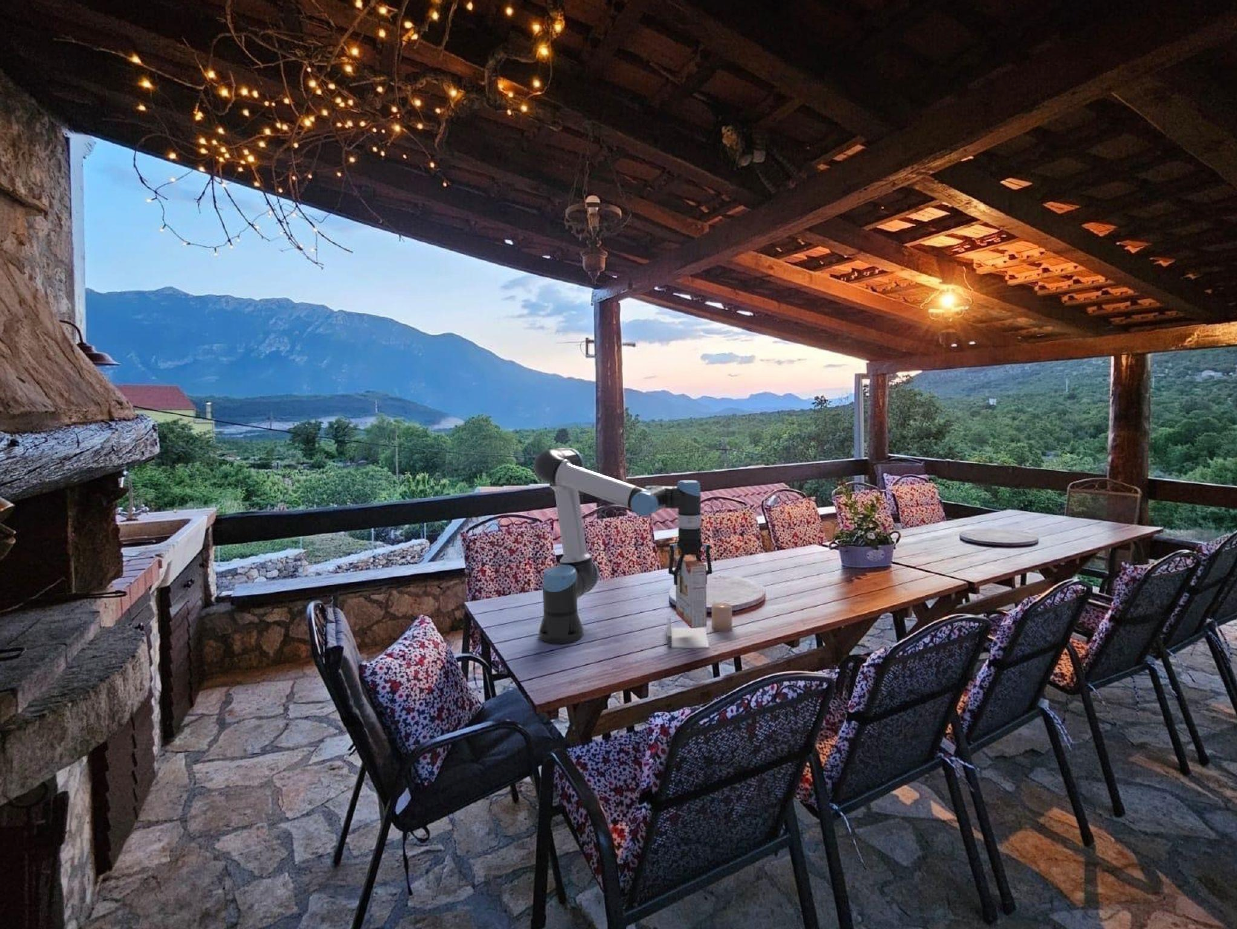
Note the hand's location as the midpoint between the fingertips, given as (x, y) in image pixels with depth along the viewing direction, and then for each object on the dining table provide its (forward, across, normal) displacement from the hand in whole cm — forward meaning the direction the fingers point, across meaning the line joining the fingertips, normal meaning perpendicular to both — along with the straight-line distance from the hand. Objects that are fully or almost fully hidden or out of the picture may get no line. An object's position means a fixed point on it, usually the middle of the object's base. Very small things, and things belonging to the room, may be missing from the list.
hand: (690, 594), depth 185 cm
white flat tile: (+15, -1, 0) cm, 15 cm away
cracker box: (+9, 0, 0) cm, 9 cm away
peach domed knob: (+15, +11, +10) cm, 22 cm away
